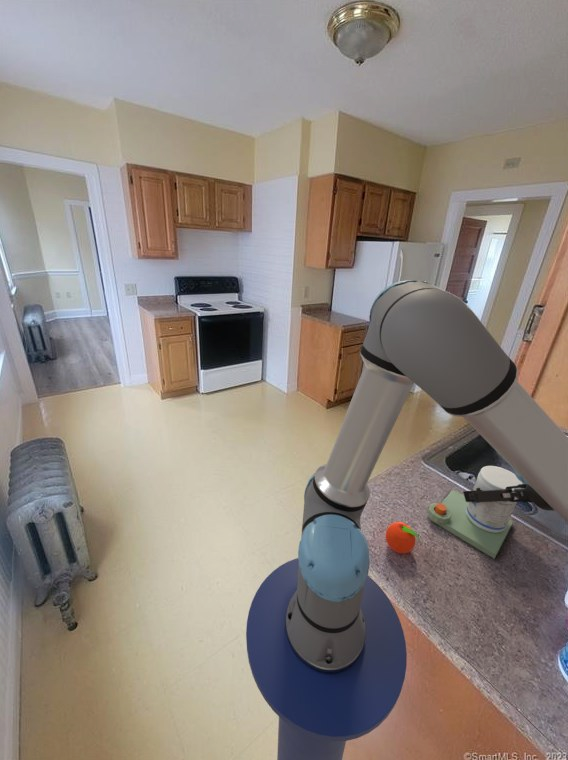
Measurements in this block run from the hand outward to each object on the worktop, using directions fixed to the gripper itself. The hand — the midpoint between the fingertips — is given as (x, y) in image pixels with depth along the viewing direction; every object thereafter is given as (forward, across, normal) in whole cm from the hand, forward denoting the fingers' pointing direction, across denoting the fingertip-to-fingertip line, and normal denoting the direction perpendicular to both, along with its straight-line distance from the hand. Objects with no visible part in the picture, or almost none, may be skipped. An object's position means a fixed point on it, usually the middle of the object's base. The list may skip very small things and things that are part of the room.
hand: (482, 494), depth 87 cm
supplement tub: (+2, 0, -6) cm, 7 cm away
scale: (+4, -3, -7) cm, 8 cm away
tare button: (+3, -12, -3) cm, 13 cm away
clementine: (0, -26, -10) cm, 28 cm away
